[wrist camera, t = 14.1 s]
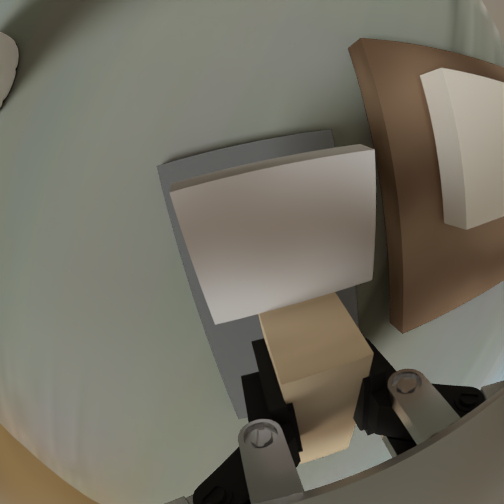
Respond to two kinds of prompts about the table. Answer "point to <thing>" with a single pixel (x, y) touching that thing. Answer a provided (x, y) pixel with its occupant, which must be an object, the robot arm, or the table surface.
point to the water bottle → (7, 64)
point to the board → (421, 185)
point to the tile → (468, 144)
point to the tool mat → (220, 335)
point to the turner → (292, 272)
